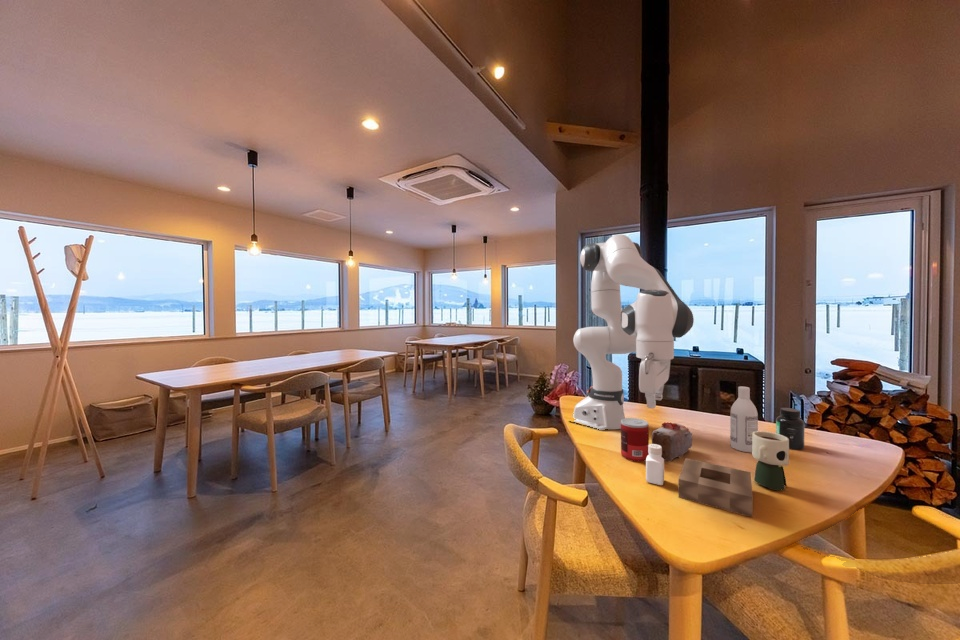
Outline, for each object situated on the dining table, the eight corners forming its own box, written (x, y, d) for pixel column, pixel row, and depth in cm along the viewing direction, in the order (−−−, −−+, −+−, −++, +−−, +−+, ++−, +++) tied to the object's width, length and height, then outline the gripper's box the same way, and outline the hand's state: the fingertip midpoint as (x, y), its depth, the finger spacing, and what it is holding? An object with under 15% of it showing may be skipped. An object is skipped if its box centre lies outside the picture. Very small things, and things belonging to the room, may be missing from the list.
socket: (678, 497, 82) (678, 478, 82) (685, 474, 93) (685, 458, 93) (752, 517, 73) (752, 497, 73) (750, 489, 85) (750, 472, 84)
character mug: (778, 499, 80) (778, 445, 80) (743, 485, 87) (743, 435, 86) (797, 486, 86) (797, 436, 85) (762, 475, 92) (763, 427, 92)
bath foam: (760, 449, 109) (760, 387, 108) (754, 455, 104) (754, 390, 104) (733, 442, 114) (734, 383, 113) (727, 448, 109) (727, 387, 109)
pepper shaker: (645, 482, 89) (645, 447, 89) (647, 476, 92) (647, 442, 92) (662, 486, 87) (662, 450, 87) (664, 480, 90) (664, 445, 90)
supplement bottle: (774, 445, 111) (774, 409, 110) (777, 440, 115) (777, 405, 115) (803, 452, 106) (803, 414, 105) (805, 446, 110) (805, 409, 110)
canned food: (654, 458, 103) (654, 422, 103) (637, 464, 99) (637, 427, 99) (632, 449, 110) (631, 416, 110) (615, 455, 106) (615, 420, 106)
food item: (667, 444, 114) (667, 415, 114) (694, 451, 108) (694, 421, 107) (648, 455, 105) (648, 424, 105) (676, 464, 99) (676, 431, 99)
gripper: (660, 356, 78) (661, 415, 79) (674, 348, 95) (674, 397, 95) (631, 355, 82) (632, 411, 83) (649, 347, 99) (649, 394, 99)
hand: (655, 403), depth 89 cm, fingers open, 8 cm apart
